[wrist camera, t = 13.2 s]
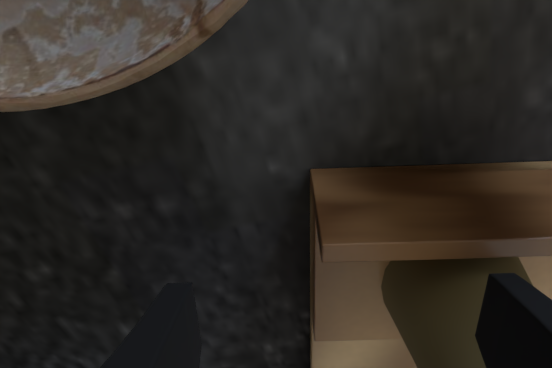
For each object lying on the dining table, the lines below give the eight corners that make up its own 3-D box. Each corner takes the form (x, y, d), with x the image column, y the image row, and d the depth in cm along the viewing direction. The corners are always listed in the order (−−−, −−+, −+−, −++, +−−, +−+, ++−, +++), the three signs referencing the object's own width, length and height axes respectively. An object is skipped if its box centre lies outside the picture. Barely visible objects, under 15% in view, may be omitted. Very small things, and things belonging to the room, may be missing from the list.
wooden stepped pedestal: (310, 396, 28) (318, 501, 23) (309, 168, 21) (321, 245, 16) (506, 391, 28) (560, 495, 23) (574, 159, 21) (675, 234, 16)
